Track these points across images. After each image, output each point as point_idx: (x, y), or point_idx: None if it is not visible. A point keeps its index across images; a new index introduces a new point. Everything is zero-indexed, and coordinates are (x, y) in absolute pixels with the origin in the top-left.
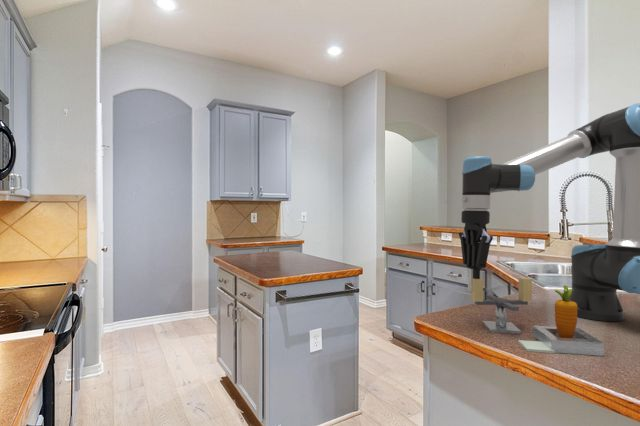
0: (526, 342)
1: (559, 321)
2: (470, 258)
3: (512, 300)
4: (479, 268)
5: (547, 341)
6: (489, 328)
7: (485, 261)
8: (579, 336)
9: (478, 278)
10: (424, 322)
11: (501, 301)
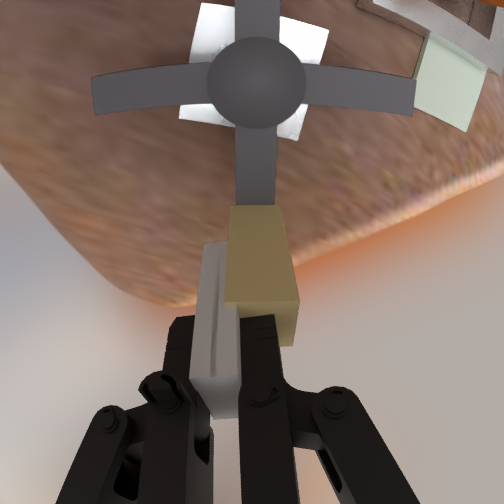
0: (428, 93)
1: (500, 5)
2: (209, 493)
3: (256, 7)
4: (300, 398)
5: (472, 60)
6: (287, 137)
7: (382, 450)
8: None
9: (275, 323)
10: (187, 302)
11: (300, 103)
